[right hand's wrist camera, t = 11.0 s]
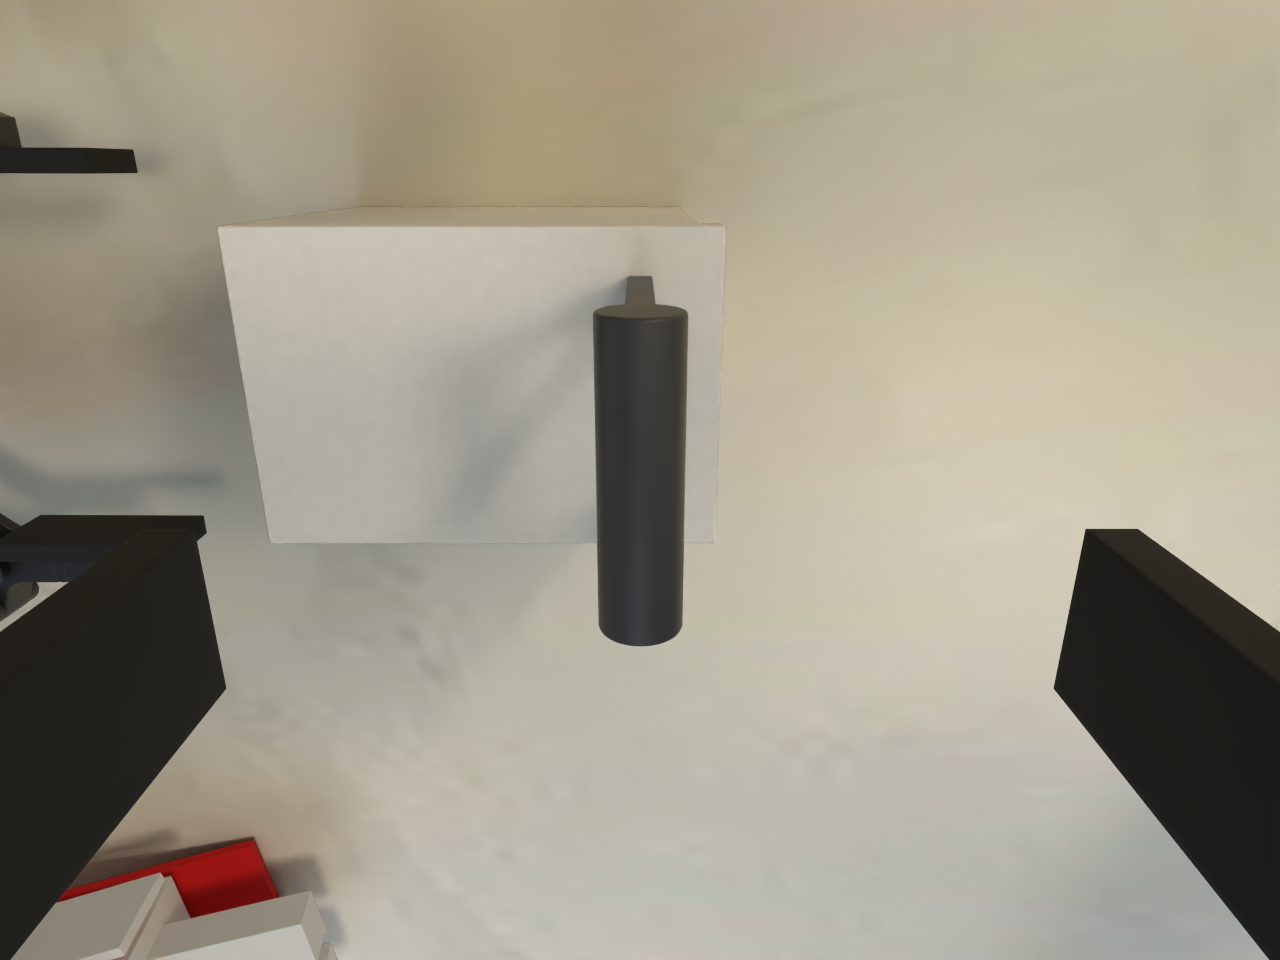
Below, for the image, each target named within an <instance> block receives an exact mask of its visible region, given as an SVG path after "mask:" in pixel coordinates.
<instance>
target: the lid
mask: <svg viewBox="0 0 1280 960" xmlns="http://www.w3.org/2000/svg"><path fill="white" fill-rule="evenodd" d="M217 231H218V237H219V243H220V249H221V255H222V261H223V267H224V273H225V279H226V285H227V291H228V297H229V303H230V309H231V315H232V321H233V327H234V333H235V339H236V345H237V351H238V357H239V363H240V368H241V374H242V380H243V386H244V392H245V398H246V404H247V410H248V416H249V422H250V428H251V434H252V440H253V446H254V452H255V458H256V464H257V470H258V476H259V482H260V488H261V494H262V500H263V505H264V511H265V517H266V523H267V529H268V535H269V541H270V543H271V544H286V543H597V557H598V608H599V627H600V629H601V631H602V633H603V634H604V635H605V636H606V637H607V638H609V639H611V640H613V641H615V642H617V643H621V644H624V645H630V646H651V645H657V644H661V643H664V642H666V641H668V640H671V639H672V638H674V637H675V636H676V635H677V634H678V633H679V631H680V630H681V627H682V612H683V562H684V543H715V529H716V500H717V470H718V441H719V412H720V382H721V353H722V323H723V294H724V264H725V235H726V228H725V226H723V225H722V224H720V223H238V224H230V225H223V226H218V227H217Z"/></svg>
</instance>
